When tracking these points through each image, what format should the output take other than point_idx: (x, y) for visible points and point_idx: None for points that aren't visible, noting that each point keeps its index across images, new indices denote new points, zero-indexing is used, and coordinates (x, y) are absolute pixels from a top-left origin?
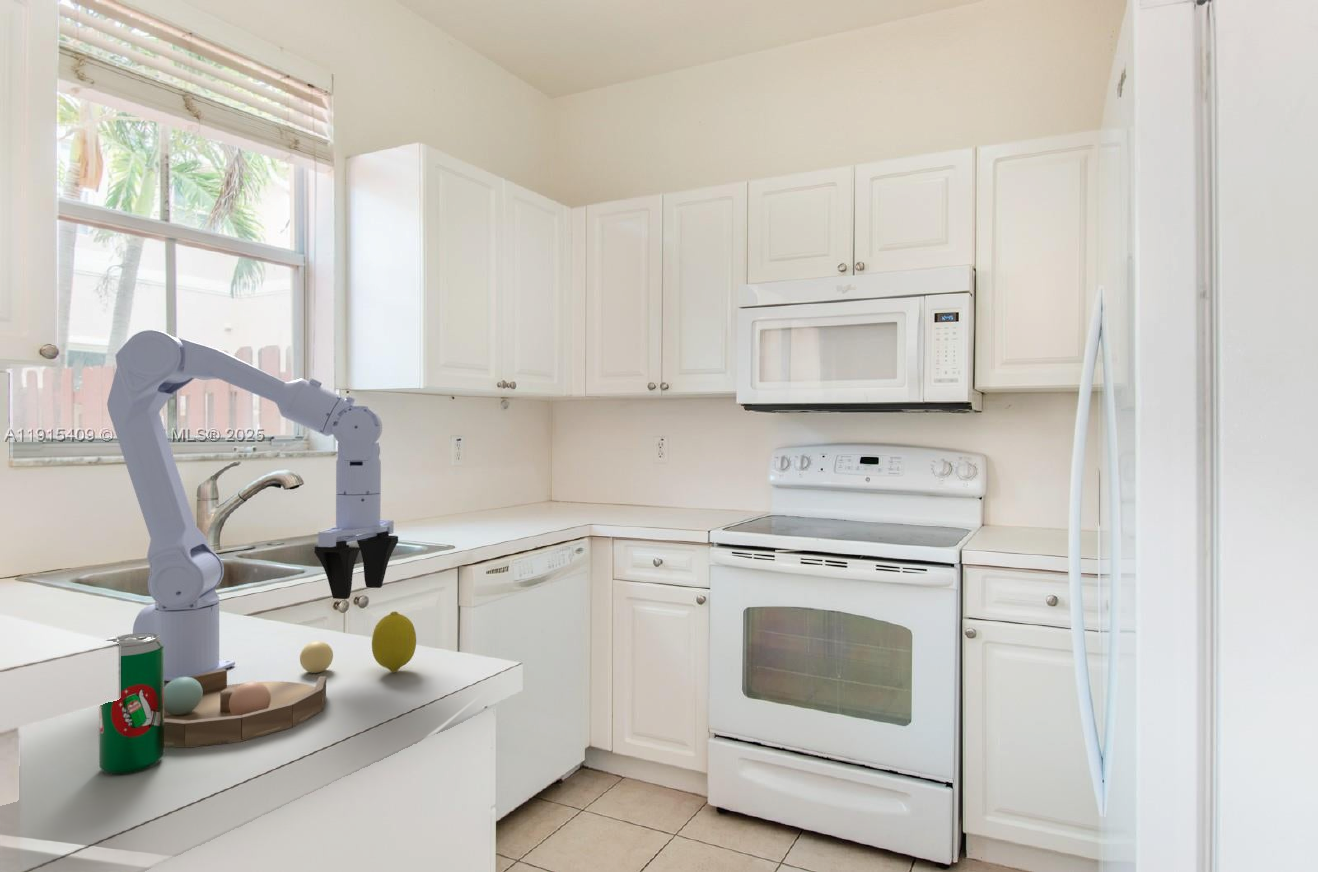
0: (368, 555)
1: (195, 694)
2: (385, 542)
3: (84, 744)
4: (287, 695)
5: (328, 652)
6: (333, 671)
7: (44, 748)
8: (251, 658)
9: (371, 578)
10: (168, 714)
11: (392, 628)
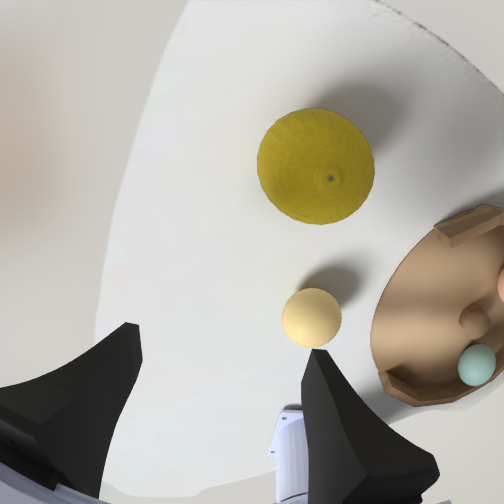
0: (102, 436)
1: (489, 350)
2: (56, 437)
3: None
4: (439, 278)
5: (321, 300)
6: (302, 277)
7: (494, 387)
8: (239, 407)
9: (131, 366)
10: None
11: (372, 158)
